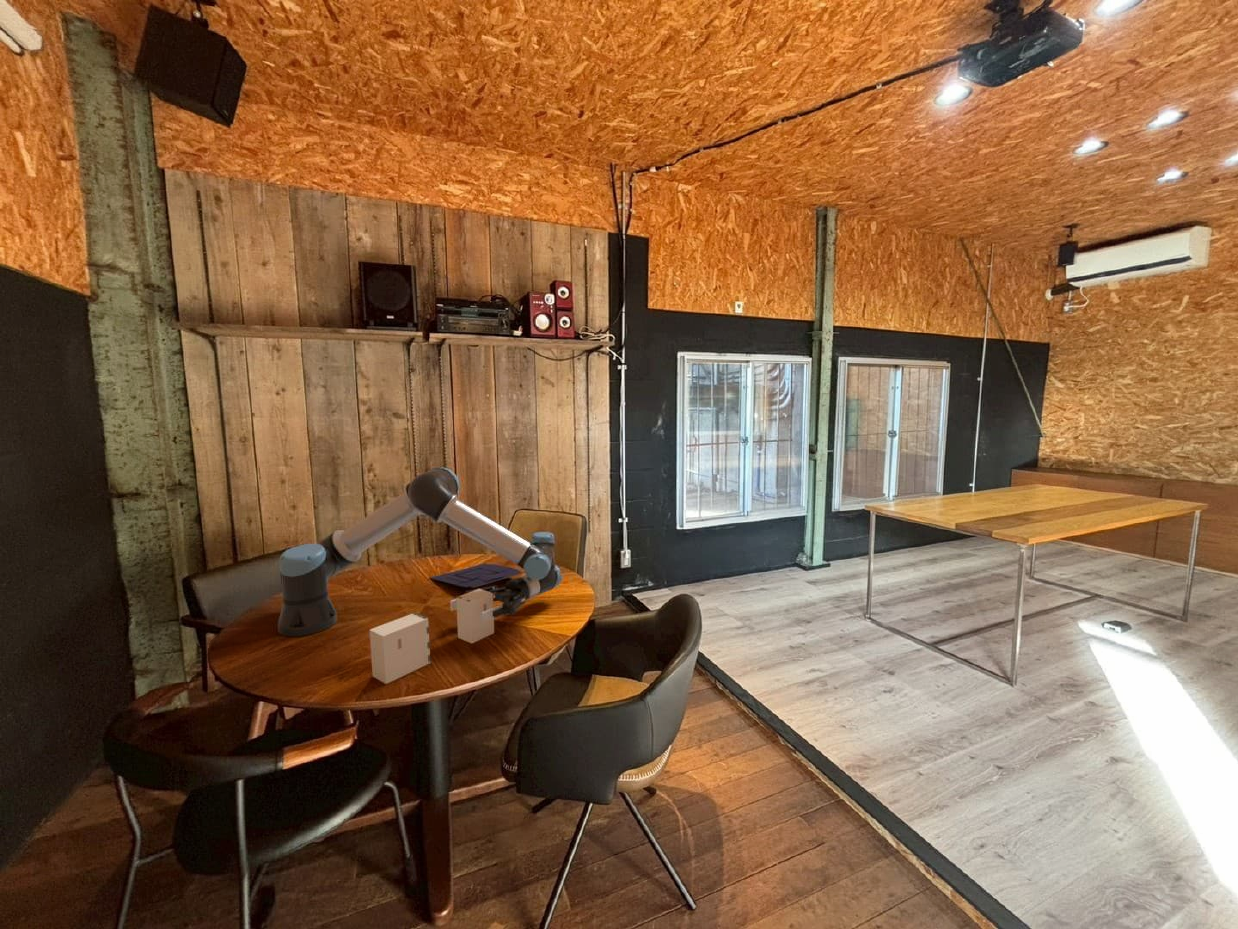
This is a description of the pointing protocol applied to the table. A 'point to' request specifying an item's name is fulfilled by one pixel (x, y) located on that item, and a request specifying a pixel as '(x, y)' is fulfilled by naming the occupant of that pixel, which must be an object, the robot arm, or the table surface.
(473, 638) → the stub
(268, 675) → the table surface
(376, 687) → the table surface
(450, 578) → the navy flat slab
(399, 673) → the white slotted block
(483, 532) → the robot arm
